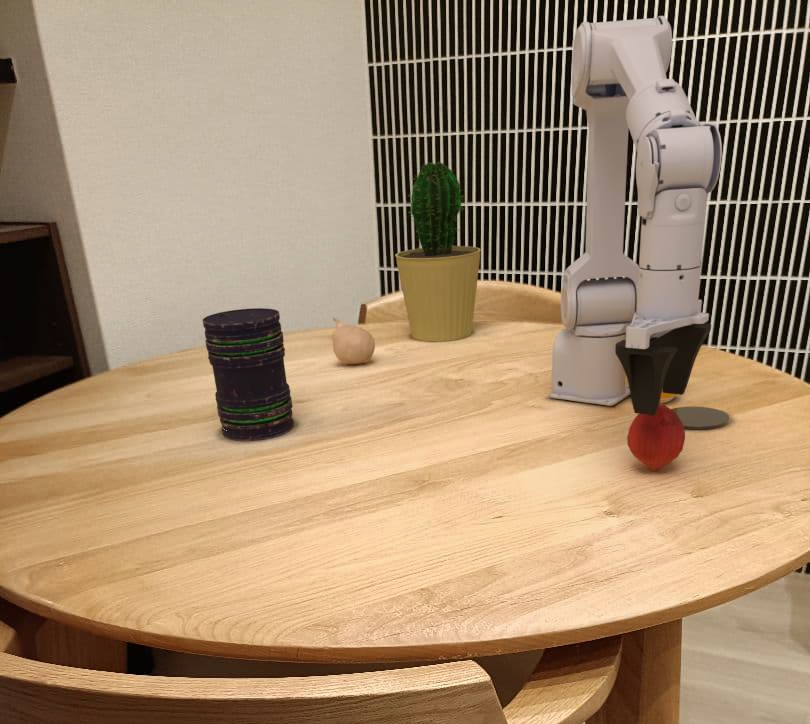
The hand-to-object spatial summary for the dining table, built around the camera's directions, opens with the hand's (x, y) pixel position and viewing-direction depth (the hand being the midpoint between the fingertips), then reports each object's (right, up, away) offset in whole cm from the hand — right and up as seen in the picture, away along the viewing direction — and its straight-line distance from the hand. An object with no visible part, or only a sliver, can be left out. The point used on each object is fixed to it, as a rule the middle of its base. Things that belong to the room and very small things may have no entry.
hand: (659, 403), depth 85 cm
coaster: (+10, +1, +17) cm, 19 cm away
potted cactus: (-20, +24, +69) cm, 75 cm away
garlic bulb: (-35, +15, +53) cm, 65 cm away
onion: (0, -7, +3) cm, 8 cm away
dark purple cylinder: (-46, +1, +25) cm, 53 cm away
